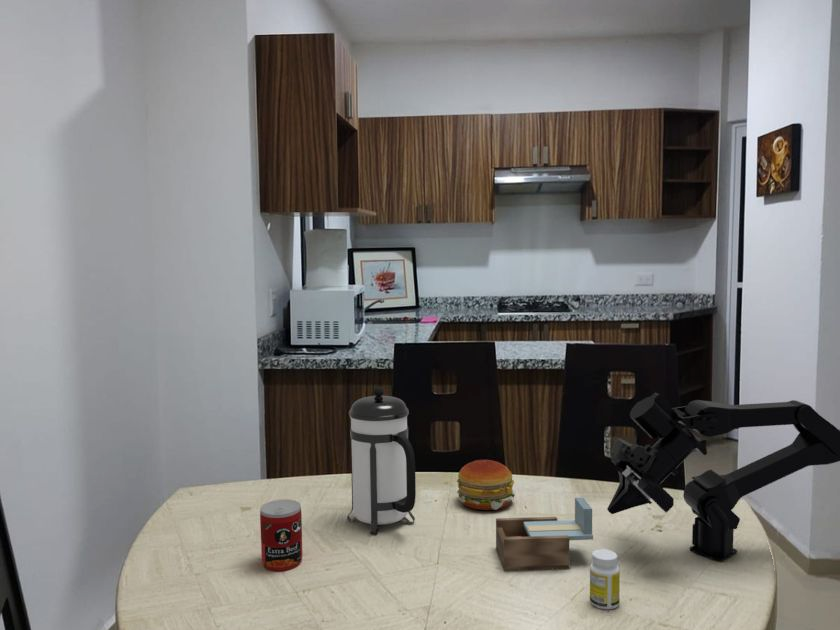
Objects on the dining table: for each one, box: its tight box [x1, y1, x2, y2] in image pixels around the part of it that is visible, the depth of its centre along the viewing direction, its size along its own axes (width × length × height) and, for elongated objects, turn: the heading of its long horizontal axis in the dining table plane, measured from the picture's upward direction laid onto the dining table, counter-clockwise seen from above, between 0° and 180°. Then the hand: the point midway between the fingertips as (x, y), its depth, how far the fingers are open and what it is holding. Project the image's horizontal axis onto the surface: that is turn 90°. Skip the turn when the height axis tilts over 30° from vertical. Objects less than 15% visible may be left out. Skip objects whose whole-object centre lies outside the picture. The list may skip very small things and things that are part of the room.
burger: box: [456, 459, 516, 511], centre depth 160 cm, size 14×14×10 cm
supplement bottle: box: [589, 548, 621, 610], centre depth 114 cm, size 5×5×8 cm
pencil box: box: [495, 516, 570, 572], centre depth 131 cm, size 12×10×6 cm
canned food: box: [259, 498, 304, 572], centre depth 130 cm, size 8×8×11 cm
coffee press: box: [346, 386, 417, 536], centre depth 147 cm, size 17×16×30 cm
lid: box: [523, 497, 594, 541], centre depth 130 cm, size 12×7×6 cm, turn 93°
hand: (609, 511), depth 131 cm, fingers closed
